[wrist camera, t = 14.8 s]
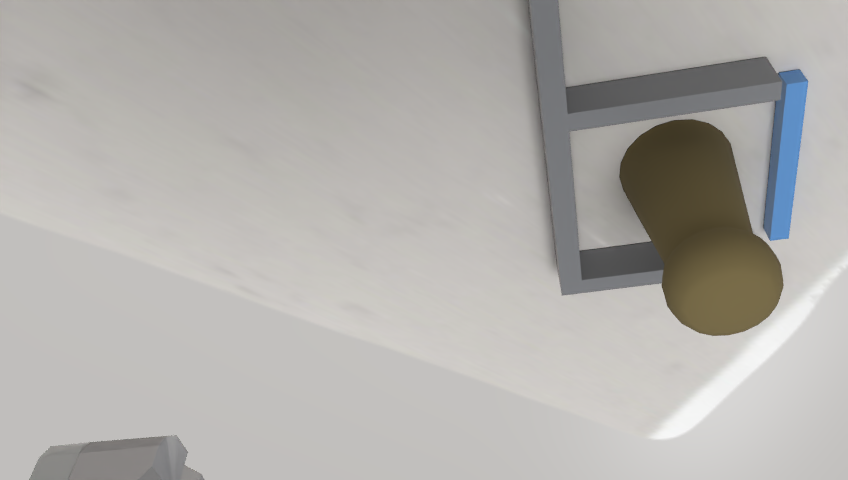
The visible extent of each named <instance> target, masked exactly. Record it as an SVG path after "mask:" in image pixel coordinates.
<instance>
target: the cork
mask: <svg viewBox="0 0 848 480" xmlns="http://www.w3.org/2000/svg"><path fill="white" fill-rule="evenodd" d="M620 180H621V184H622V187H623V190H624V192H625V194H626V196H627V198H628V199H629V201H630V203H631V205H632V207H633V208H634V210H635V212H636V214H637V216H638V217H639V219H640V221H641V223H642V225H643V226H644V228H645V230H646V232H647V234H648V235H649V237H650V239H651V241H652V243H653V244H654V246H655V248H656V250H657V252H658V253H659V255H660V257H661V259H662V261H663V262H664V269H663V276H662V288H663V292H664V295H665V299H666V302H667V306H668V308H669V309H670V310H671V312H672V313H673V314H674V315H675V317H676V318H677V319H678V320H679V321H680V322H681V323H682V324H684V325H686V326H687V327H689V328H691V329H693V330H695V331H697V332H699V333H702V334H707V335H712V336H719V335H731V334H735V333H739V332H744V331H746V330H748V329H750V328H752V327H754V326H756V325H758V324H759V323H761V322H762V321H763V320H765V319H766V318H767V317H768V316H769V315H770V314H771V313H772V311H773V310H774V309H775V307H776V306H777V304H778V302H779V299H780V296H781V292H782V289H783V277H782V271H781V264H780V262H779V260H778V259H777V257H776V255H775V254H774V252H773V251H772V250H771V248H770V247H769V245H768V244H767V243H766V242H765V241H763V240H762V239H761V238H760V237H758V236H756V235H755V234H753V232H752V228H751V224H750V220H749V216H748V212H747V208H746V204H745V200H744V196H743V192H742V188H741V184H740V180H739V176H738V172H737V168H736V164H735V160H734V156H733V152H732V148H731V144H730V143H729V141H728V140H727V138H726V137H725V135H724V134H723V132H721V131H720V130H718V129H717V128H715V127H714V126H712V125H711V124H709V123H705V122H700V121H696V120H674V121H671V122H667V123H664V124H661V125H658V126H655V127H654V128H652V129H650V130H649V131H647V132H645V133H644V134H642V135H641V136H639V137H638V138H637V140H636V141H635V142H634V143H633V144H632V145H631V146H630V147H629V148H628V150H627V152H626V154H625V156H624V158H623V160H622V162H621V168H620Z"/></svg>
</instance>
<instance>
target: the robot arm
mask: <svg viewBox="0 0 848 480" xmlns="http://www.w3.org/2000/svg"><path fill="white" fill-rule="evenodd" d="M187 453H188V452H187V450H186V448H185V447H184V446H183V444H182V443H181V441H180V440H179V438H178V437H177V436H176V435H175V436H161V437H149V438H137V439H124V440H112V441H101V442H90V443H79V444H69V445H59V446H51V447H50V448H49V449H48V450H47V451H46V452H45V453H44V454H43V455H42V456H41V457H40V458H39V460H38V462H37V464H36V466H35V468H34V471H33V473H32V475H31V477H30V479H29V480H204V478H203V476H202V474H200V473H198V472H196V471H195V470H193V469H191V468H188V467H187V466H185V465H184V464H185V460H186V457H187Z"/></svg>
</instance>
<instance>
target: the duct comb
mask: <svg viewBox="0 0 848 480" xmlns="http://www.w3.org/2000/svg"><path fill="white" fill-rule="evenodd" d="M528 5H529V15H530V24H531V33H532V42H533V51H534V60H535V69H536V78H537V88H538V97H539V106H540V115H541V124H542V133H543V142H544V151H545V161H546V170H547V179H548V188H549V197H550V206H551V215H552V225H553V234H554V243H555V252H556V261H557V269H558V275H559V281H560V287H561V293H562V295H570V294H578V293H586V292H594V291H602V290H610V289H619V288H627V287H635V286H643V285H651V284H659V283H662V276H663V269H664V262H663V261H662V259H661V257H660V255H659V253H658V252H657V250H656V248H655V246H654V244H653V243H652V242H648V243H640V244H632V245H624V246H617V247H609V248H601V249H594V250H586V251H579V241H578V229H577V217H576V206H575V194H574V182H573V170H572V159H571V147H570V135H569V131H576V130H582V129H589V128H596V127H602V126H609V125H616V124H623V123H629V122H636V121H643V120H650V119H656V118H663V117H670V116H677V115H683V114H690V113H697V112H703V111H710V110H717V109H724V108H730V107H737V106H744V105H751V104H757V103H764V102H771V101H776V106H775V117H774V127H773V137H772V147H771V157H770V167H769V177H768V187H767V197H766V207H765V217H764V229H765V231H766V233H767V236H768V238H769V240H770V241H772V240H780V239H787V238H789V231H790V223H791V215H792V207H793V199H794V191H795V183H796V175H797V167H798V159H799V151H800V143H801V135H802V127H803V119H804V111H805V103H806V95H807V87H808V80H807V79H806V78H805V76H804V75H803V73H802V72H801V71H800V70H794V71H787V72H780V73H779V76H778V74H777V73H776V71H775V70H774V68H773V67H772V65H771V64H770V62H769V61H768V59H767V58H766V57H762V58H756V59H749V60H743V61H736V62H730V63H724V64H717V65H711V66H704V67H698V68H691V69H685V70H678V71H672V72H666V73H659V74H653V75H646V76H640V77H633V78H627V79H621V80H614V81H608V82H601V83H595V84H588V85H582V86H575V87H569V88H565V76H564V65H563V53H562V41H561V30H560V18H559V6H558V0H528Z"/></svg>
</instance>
